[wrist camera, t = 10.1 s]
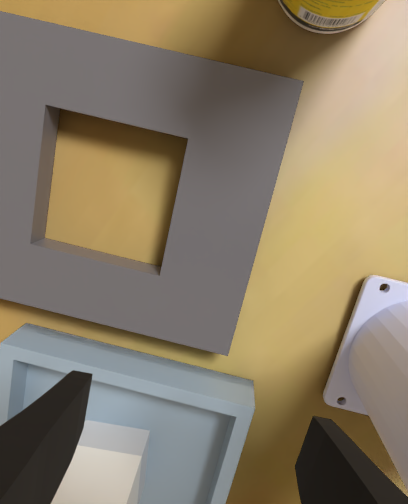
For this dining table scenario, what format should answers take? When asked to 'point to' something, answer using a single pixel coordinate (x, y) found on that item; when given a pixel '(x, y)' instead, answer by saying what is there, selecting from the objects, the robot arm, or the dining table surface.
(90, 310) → the block
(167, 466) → the parts tray
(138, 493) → the block
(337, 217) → the dining table surface
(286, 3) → the supplement bottle
